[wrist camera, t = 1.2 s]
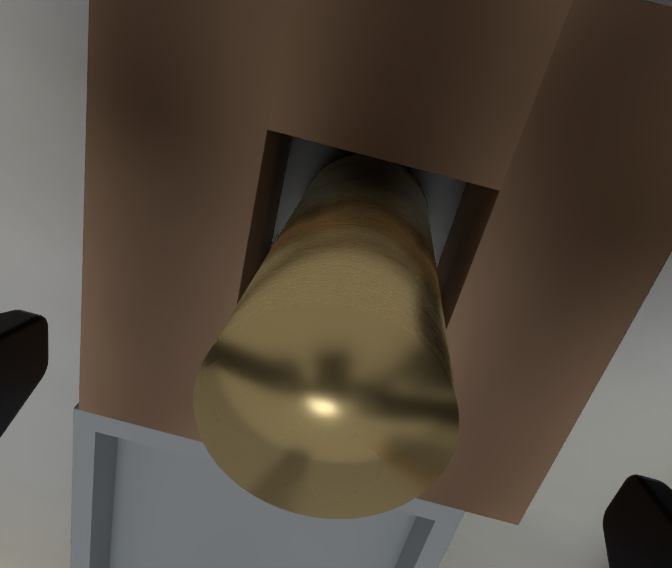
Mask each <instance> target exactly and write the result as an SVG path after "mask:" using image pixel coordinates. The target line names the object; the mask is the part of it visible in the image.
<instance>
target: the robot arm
mask: <svg viewBox="0 0 672 568" xmlns="http://www.w3.org/2000/svg"><path fill="white" fill-rule="evenodd" d="M47 365H48V323H47V320H46V319H45V318H44V317H43V316H41V315H38V314H34V313H30V312H26V311H23V310H12V311H8V312H4V313H0V437H1V436H2V435H3V433H4V432H5V430H6V429H7V427H8V426H9V425H10V423H11V422H12V420H13V419H14V417H15V416H16V415H17V413H18V412H19V410H20V409H21V407H22V406H23V405H24V403H25V402H26V400H27V399H28V397H29V396H30V395H31V393H32V392H33V390H34V389H35V387H36V386H37V385H38V383H39V382H40V380H41V379H42V377H43V376H44V374H45V372H46V369H47ZM603 531H604V537H605V543H606V549H607V556H608V562H609V568H672V489H671V488H669V487H668V486H667V485H666V484H665V483H663V482H661V481H659V480H656V479H652V478H648V477H645V476H641V475H631V476H630V477H628V478H627V479H626V480H625V482H624V483H623V485H622V486H621V488H620V489H619V491H618V492H617V494H616V495H615V497H614V498H613V500H612V501H611V503H610V504H609V506H608V507H607V509H606V511H605V514H604V518H603Z"/></svg>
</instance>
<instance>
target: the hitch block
mask: <svg viewBox="0 0 672 568" xmlns="http://www.w3.org/2000/svg"><path fill="white" fill-rule="evenodd" d="M292 136H294V137H298V138H302V139H305V140H309V141H313V142H317V143H321V144H324V145H328V146H332V147H336V148H340V149H343V150H347V151H351V152H355V153H359V154H362V155H366V156H370V157H374V158H378V159H381V160H385V161H389V162H393V163H397V164H400V165H404V166H408V167H412V168H416V169H419V170H423V171H427V172H431V173H435V174H438V175H442V176H446V177H450V178H454V179H457V180H461V181H465V182H467V185H466V188H465V191H464V194H463V196H462V199H461V202H460V205H459V208H458V211H457V213H456V216H455V219H454V222H453V225H452V228H451V230H450V233H449V236H448V239H447V242H446V245H445V247H444V250H443V253H442V256H441V259H440V262H439V264H438V267H437V276H438V282H439V288H440V295H441V301H442V308H443V314H444V320H445V327H446V333H447V340H448V346H449V352H450V359H451V365H452V372H453V378H454V385H455V391H456V397H457V404H458V410H459V433H458V439H457V444H456V447H455V450H454V453H453V455H452V458H451V459H450V461H449V463H448V465H447V467H446V469H445V470H444V471H443V473H442V474H441V475H440V477H439V478H438V479H437V480H436V481H435V482H434V483H433V484H432V485H431V486H430V487H429V488H428V489H427V490H426V491H424V492H423V493H422V494H420V495H419V496H418V497H416V498H417V499H421V500H425V501H428V502H432V503H436V504H440V505H444V506H448V507H451V508H455V509H459V510H463V511H467V512H470V513H474V514H478V515H482V516H486V517H489V518H493V519H497V520H501V521H505V522H509V523H512V524H516V525H518V524H519V522H520V521H521V519H522V517H523V515H524V514H525V512H526V510H527V508H528V506H529V505H530V503H531V501H532V499H533V498H534V496H535V494H536V492H537V490H538V489H539V487H540V485H541V483H542V482H543V480H544V478H545V476H546V474H547V473H548V471H549V469H550V467H551V465H552V464H553V462H554V460H555V458H556V457H557V455H558V453H559V451H560V449H561V448H562V446H563V444H564V442H565V441H566V439H567V437H568V435H569V433H570V432H571V430H572V428H573V426H574V425H575V423H576V421H577V419H578V417H579V416H580V414H581V412H582V410H583V408H584V407H585V405H586V403H587V401H588V400H589V398H590V396H591V394H592V392H593V391H594V389H595V387H596V385H597V384H598V382H599V380H600V378H601V376H602V375H603V373H604V371H605V369H606V368H607V366H608V364H609V362H610V360H611V359H612V357H613V355H614V353H615V351H616V350H617V348H618V346H619V344H620V343H621V341H622V339H623V337H624V335H625V334H626V332H627V330H628V328H629V327H630V325H631V323H632V321H633V319H634V318H635V316H636V314H637V312H638V311H639V309H640V307H641V305H642V303H643V302H644V300H645V298H646V296H647V295H648V293H649V291H650V289H651V287H652V286H653V284H654V282H655V280H656V278H657V277H658V275H659V273H660V271H661V270H662V268H663V266H664V264H665V262H666V261H667V259H668V257H669V255H670V254H671V252H672V7H668V6H664V5H660V4H656V3H653V2H649V1H645V0H89V33H88V72H87V111H86V150H85V190H84V229H83V268H82V307H81V347H80V386H79V410H81V411H85V412H89V413H93V414H96V415H100V416H104V417H108V418H112V419H115V420H119V421H123V422H127V423H131V424H134V425H138V426H142V427H146V428H150V429H154V430H157V431H161V432H165V433H169V434H173V435H176V436H180V437H184V438H188V439H192V440H196V441H199V442H203V441H202V439H201V436H200V434H199V431H198V429H197V425H196V421H195V417H194V407H193V395H194V386H195V382H196V377H197V374H198V372H199V369H200V367H201V364H202V362H203V360H204V359H205V357H206V355H207V354H208V352H209V350H210V349H211V347H212V345H213V344H214V342H215V340H216V339H217V337H218V336H219V334H220V332H221V331H222V329H223V327H224V326H225V324H226V322H227V321H228V319H229V317H230V316H231V314H232V312H233V311H234V309H235V307H236V306H237V304H238V303H239V301H240V299H241V298H242V296H243V294H244V293H245V291H246V289H247V288H248V286H249V284H250V283H251V281H252V279H253V278H254V276H255V274H256V273H257V271H258V270H259V268H260V266H261V265H262V263H263V261H264V260H265V258H266V256H267V255H268V253H269V251H270V247H271V242H272V237H273V232H274V226H275V221H276V216H277V211H278V206H279V201H280V196H281V191H282V186H283V180H284V175H285V170H286V165H287V160H288V155H289V150H290V145H291V139H292Z"/></svg>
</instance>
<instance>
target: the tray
mask: <svg viewBox="0 0 672 568" xmlns="http://www.w3.org/2000/svg"><path fill="white" fill-rule="evenodd" d="M464 512H465V511H463V510H459V509H455V508H451V507H448V506H444V505H440V504H436V503H432V502H428V501H425V500H421V499H417V498H415V499H413V500H411V501H410V502H408V503H406V504H404V505H402V506H400V507H398V508H395V509H393V510H390V511H388V512H384V513H381V514H377V515H373V516H368V517H362V518H353V519H324V518H316V517H309V516H305V515H300V514H296V513H293V512H289V511H286V510H283V509H280V508H278V507H276V506H273V505H271V504H268V503H266V502H264V501H263V500H261V499H259V498H257V497H255V496H253V495H252V494H250V493H249V492H247V491H246V490H244V489H243V488H241V487H240V486H239V485H238V484H237V483H235V482H234V481H233V480H232V479H231V478H229V477H228V476H227V474H226V473H225V472H224V471H223V470H222V469H221V468H220V467H219V466H218V465H217V463H216V462H215V461H214V459H213V458H212V457H211V455H210V454H209V452H208V450H207V449H206V447H205V445H204V443H203V442H199V441H196V440H192V439H188V438H184V437H180V436H176V435H173V434H169V433H165V432H161V431H157V430H154V429H150V428H146V427H142V426H138V425H134V424H131V423H127V422H123V421H119V420H115V419H112V418H108V417H104V416H100V415H96V414H93V413H89V412H85V411H81V410H79V403H78V404H77V405H76V406H75V407H74V416H73V467H72V517H71V567H70V568H437V567H438V565H439V563H440V561H441V559H442V557H443V555H444V553H445V551H446V549H447V547H448V545H449V543H450V541H451V539H452V537H453V535H454V533H455V531H456V529H457V527H458V524H459V522H460V520H461V518H462V516H463V514H464Z"/></svg>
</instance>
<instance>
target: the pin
mask: <svg viewBox="0 0 672 568" xmlns="http://www.w3.org/2000/svg"><path fill="white" fill-rule="evenodd" d="M193 407H194V417H195V421H196V425H197V429H198V431H199V434H200V436H201V439H202V441H203V443H204V445H205V447H206V449H207V450H208V452H209V454H210V455H211V457H212V458H213V459H214V461H215V462H216V463H217V465H218V466H219V467H220V468H221V469H222V470H223V471H224V472H225V473H226V474H227V476H228V477H229V478H231V479H232V480H233V481H234V482H235V483H237V484H238V485H239V486H240V487H241V488H243V489H244V490H246V491H247V492H249V493H250V494H252V495H253V496H255V497H257V498H259V499H261V500H263V501H264V502H266V503H268V504H271V505H273V506H276V507H278V508H280V509H283V510H286V511H289V512H293V513H296V514H300V515H305V516H309V517H316V518H324V519H353V518H362V517H368V516H373V515H377V514H381V513H384V512H388V511H390V510H393V509H395V508H398V507H400V506H402V505H404V504H406V503H408V502H410V501H411V500H413V499H415V498H416V497H418V496H419V495H420V494H422V493H423V492H424V491H426V490H427V489H428V488H429V487H430V486H431V485H432V484H433V483H434V482H435V481H436V480H437V479H438V478H439V477H440V475H441V474H442V473H443V471H444V470H445V469H446V467H447V465H448V463H449V461H450V459H451V458H452V455H453V453H454V450H455V447H456V444H457V439H458V433H459V410H458V404H457V397H456V391H455V385H454V378H453V372H452V365H451V359H450V352H449V346H448V340H447V333H446V327H445V320H444V314H443V308H442V301H441V295H440V288H439V282H438V276H437V269H436V263H435V256H434V250H433V244H432V237H431V231H430V224H429V218H428V211H427V205H426V200H425V197H424V194H423V192H422V190H421V187H420V186H419V184H418V183H417V181H416V179H415V178H414V177H413V176H412V175H411V174H410V173H409V172H408V171H407V170H406V169H405V168H404V167H402V166H401V165H399V164H397V163H393V162H389V161H385V160H381V159H378V158H374V157H370V156H366V155H362V154H358V155H351V156H346V157H344V158H341V159H338V160H336V161H334V162H332V163H331V164H329V165H328V166H326V167H325V168H324V169H322V170H321V171H320V172H319V173H318V174H317V176H316V177H315V178H314V179H313V181H312V182H311V184H310V185H309V187H308V189H307V190H306V192H305V194H304V195H303V197H302V199H301V200H300V202H299V204H298V205H297V207H296V208H295V210H294V212H293V213H292V215H291V217H290V218H289V220H288V222H287V223H286V225H285V227H284V228H283V230H282V232H281V233H280V235H279V237H278V238H277V240H276V241H275V243H274V245H273V246H272V248H271V250H270V251H269V253H268V255H267V256H266V258H265V260H264V261H263V263H262V265H261V266H260V268H259V270H258V271H257V273H256V274H255V276H254V278H253V279H252V281H251V283H250V284H249V286H248V288H247V289H246V291H245V293H244V294H243V296H242V298H241V299H240V301H239V303H238V304H237V306H236V307H235V309H234V311H233V312H232V314H231V316H230V317H229V319H228V321H227V322H226V324H225V326H224V327H223V329H222V331H221V332H220V334H219V336H218V337H217V339H216V340H215V342H214V344H213V345H212V347H211V349H210V350H209V352H208V354H207V355H206V357H205V359H204V360H203V362H202V364H201V367H200V369H199V372H198V374H197V377H196V382H195V386H194V395H193Z"/></svg>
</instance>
